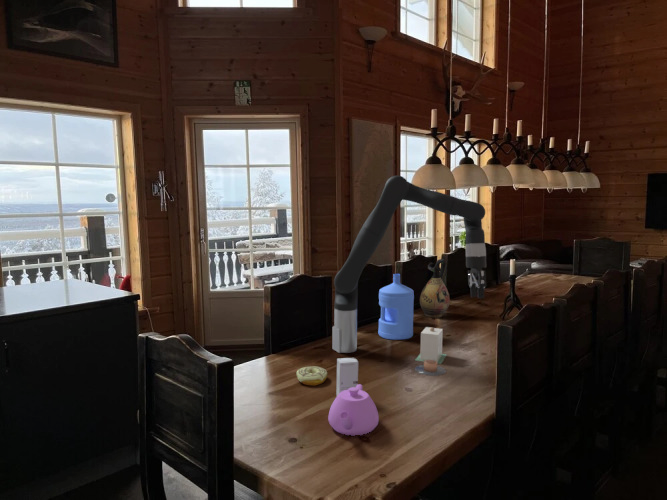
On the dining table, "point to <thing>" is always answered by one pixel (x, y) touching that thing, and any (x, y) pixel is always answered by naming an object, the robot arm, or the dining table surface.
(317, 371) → the decorated donut
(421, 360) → the felt mat
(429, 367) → the clay bowl
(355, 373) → the skincare box
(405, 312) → the water jug
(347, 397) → the teapot
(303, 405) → the dining table surface
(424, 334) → the ceramic cover
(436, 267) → the ceramic jug
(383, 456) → the dining table surface
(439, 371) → the slate coaster
